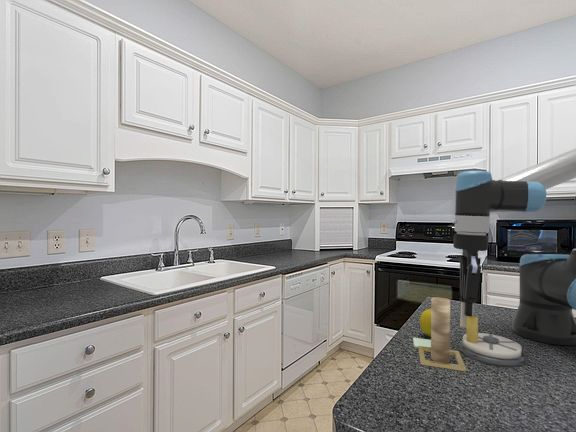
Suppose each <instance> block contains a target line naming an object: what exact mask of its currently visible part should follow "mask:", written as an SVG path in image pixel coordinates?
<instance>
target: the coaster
mask: <svg viewBox="0 0 576 432" xmlns="http://www.w3.org/2000/svg"><path fill="white" fill-rule="evenodd" d="M412 342H413V348H415V349H418V346H424V347H431V339H429V338H428V339H426V338H420V337H419V338H418V337H412Z"/></svg>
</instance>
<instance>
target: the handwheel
mask: <svg viewBox="0 0 576 432" xmlns="http://www.w3.org/2000/svg"><path fill="white" fill-rule="evenodd" d="M462 341H463V345H464V346H465V347H466V348H467V349H469V350H471V351H473V352H476V353H478V354H481V355H485V356H489V357H494V358H500V359H515V358H519V357H520V356H521V352H522V346H521V344H519V343H518V342H516V341H514V340H512V339H510V338H506V337H504V336H501V335H497V334H496V335H495V334H492V333H485V332H484V333H483V332H479V316H476V315H474V316H473V315H472V316H467V328H466V333H465V334H463V336H462Z"/></svg>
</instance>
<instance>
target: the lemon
mask: <svg viewBox="0 0 576 432" xmlns="http://www.w3.org/2000/svg"><path fill="white" fill-rule="evenodd" d="M419 326H420V327H419V328H421V331H422V333H424V334H425V335H427V336H428V338H431V307H430V308H428V309H425V310H424V311H422V312H421V315H420V318H419Z"/></svg>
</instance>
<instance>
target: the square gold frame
mask: <svg viewBox="0 0 576 432" xmlns="http://www.w3.org/2000/svg"><path fill="white" fill-rule="evenodd" d="M417 349H418V355H419V362H420V365H421V366H422V365H423V366H428V367H434V368H440V369H448V370H454V371H461V372H467V367H466V364H465V362H464V360H463V358H462V356H461V353H460V351H459V350H454V349H450V356H454V358H455V360H456V363H457V364H455V363H450V362H449V363H443V362H437V361H434V360H430V359H429V360H428V359H426V358H425V357H426V356H425V352H427V353H428V352H429V353H431V347H424V346H418V348H417Z"/></svg>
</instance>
